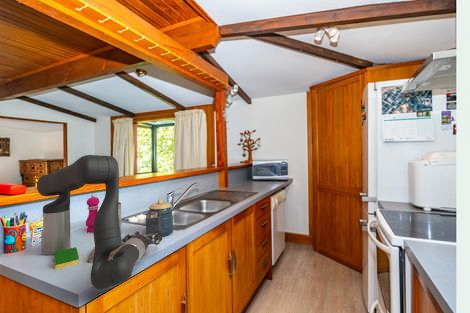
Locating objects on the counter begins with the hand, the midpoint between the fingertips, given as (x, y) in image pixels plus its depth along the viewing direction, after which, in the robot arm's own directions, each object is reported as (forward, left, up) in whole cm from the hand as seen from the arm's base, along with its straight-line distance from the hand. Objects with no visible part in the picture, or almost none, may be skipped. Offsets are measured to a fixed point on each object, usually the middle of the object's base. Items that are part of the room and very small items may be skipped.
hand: (148, 233), depth 98 cm
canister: (+7, +19, -7) cm, 21 cm away
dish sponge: (-30, +4, -8) cm, 31 cm away
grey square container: (+3, +8, -7) cm, 11 cm away
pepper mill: (-26, +40, -7) cm, 48 cm away
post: (+3, +8, -7) cm, 11 cm away
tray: (-15, +3, -7) cm, 17 cm away
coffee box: (-16, +32, -7) cm, 37 cm away
